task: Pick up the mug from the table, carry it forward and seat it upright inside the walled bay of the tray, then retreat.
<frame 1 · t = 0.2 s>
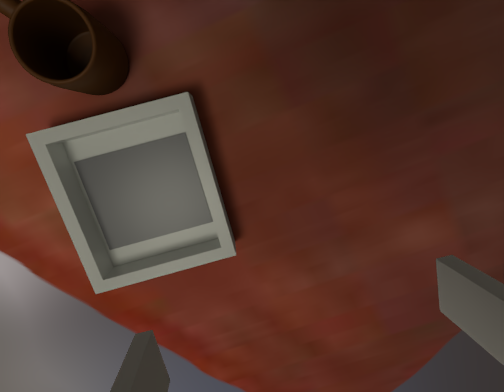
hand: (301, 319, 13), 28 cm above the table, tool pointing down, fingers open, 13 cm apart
tray: (148, 191, 39), on the table
mug: (81, 50, 35), on the table
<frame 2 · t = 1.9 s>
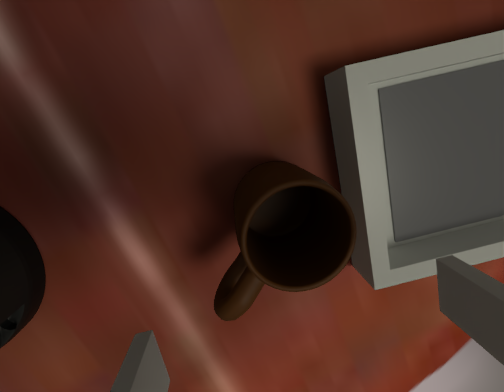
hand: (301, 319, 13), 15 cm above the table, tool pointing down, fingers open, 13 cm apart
tray: (442, 153, 28), on the table
mug: (258, 218, 28), on the table
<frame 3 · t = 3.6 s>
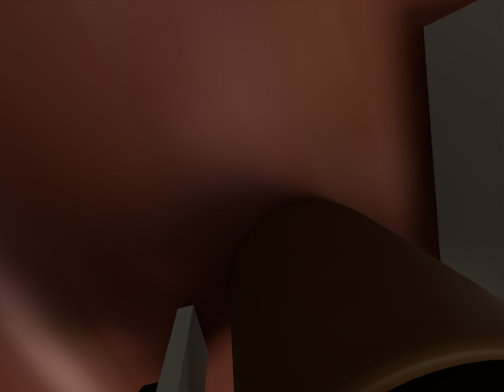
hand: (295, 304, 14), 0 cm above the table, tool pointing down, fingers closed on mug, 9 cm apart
mug: (277, 302, 15), on the table, touching gripper
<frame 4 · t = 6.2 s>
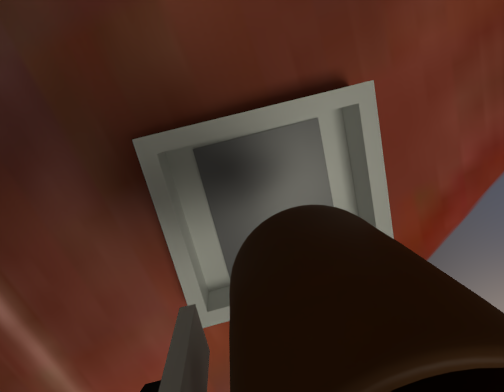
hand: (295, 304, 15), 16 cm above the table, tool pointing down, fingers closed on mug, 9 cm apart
tray: (270, 200, 30), on the table
mug: (277, 305, 15), point 16 cm above the table, touching gripper
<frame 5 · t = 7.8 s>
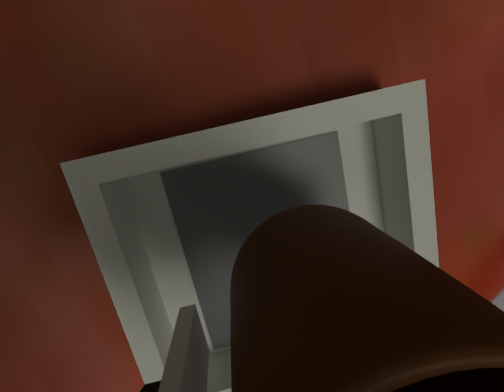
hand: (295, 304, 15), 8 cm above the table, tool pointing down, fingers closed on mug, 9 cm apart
tray: (268, 241, 22), on the table
mug: (278, 305, 15), point 8 cm above the table, touching gripper
when the fingers open (3 cm above the table, at t = 9.2 s): mug drops 2 cm, resting on tray.
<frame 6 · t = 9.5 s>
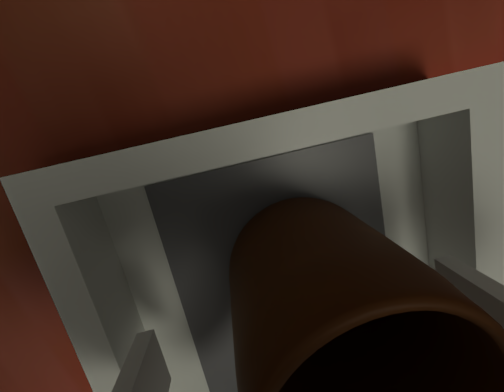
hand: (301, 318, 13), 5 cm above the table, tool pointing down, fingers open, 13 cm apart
tray: (282, 270, 18), on the table
mug: (272, 287, 17), point 1 cm above the table, touching tray
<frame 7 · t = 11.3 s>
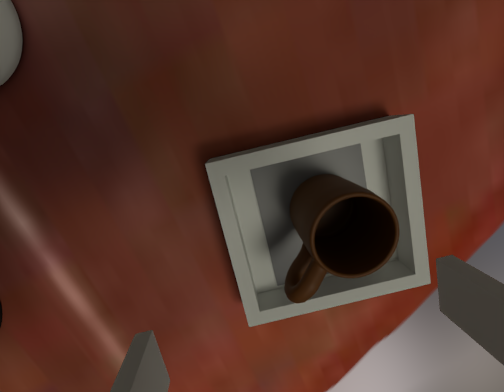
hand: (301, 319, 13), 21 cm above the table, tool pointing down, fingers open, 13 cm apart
tray: (314, 215, 34), on the table
mug: (309, 221, 33), point 1 cm above the table, touching tray
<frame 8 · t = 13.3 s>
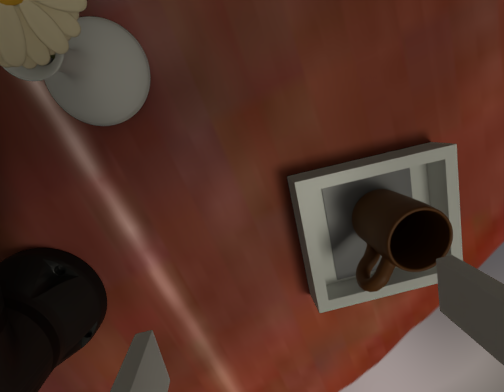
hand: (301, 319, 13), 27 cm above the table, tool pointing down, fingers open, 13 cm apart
tray: (368, 221, 42), on the table
flower in vase: (110, 71, 35), on the table
mug: (365, 227, 41), point 1 cm above the table, touching tray
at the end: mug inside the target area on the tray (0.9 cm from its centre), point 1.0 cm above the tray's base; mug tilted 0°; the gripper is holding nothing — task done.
